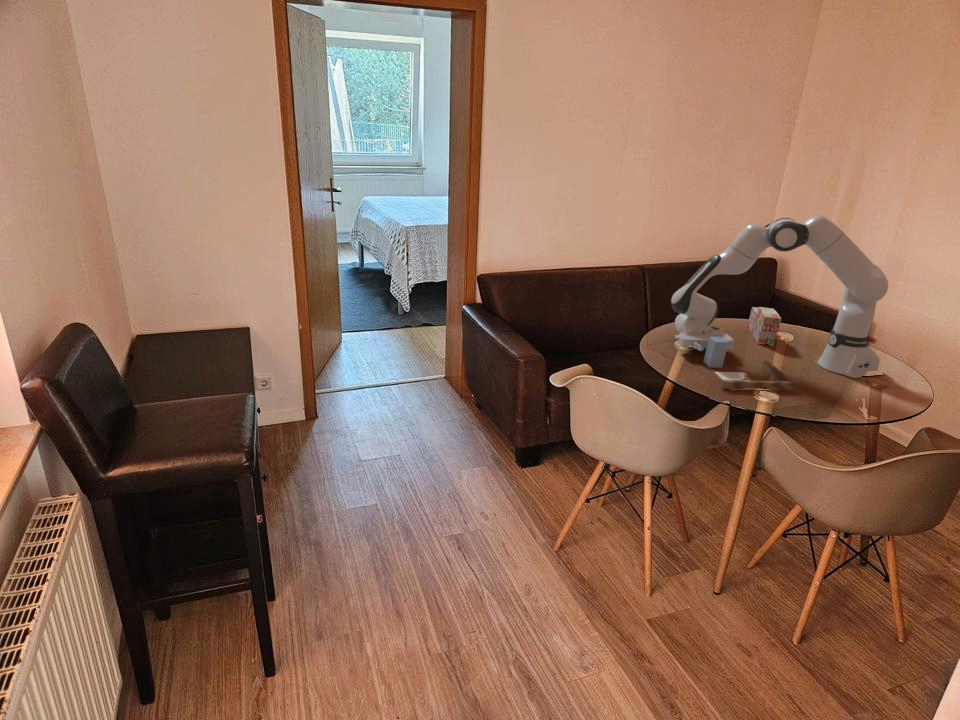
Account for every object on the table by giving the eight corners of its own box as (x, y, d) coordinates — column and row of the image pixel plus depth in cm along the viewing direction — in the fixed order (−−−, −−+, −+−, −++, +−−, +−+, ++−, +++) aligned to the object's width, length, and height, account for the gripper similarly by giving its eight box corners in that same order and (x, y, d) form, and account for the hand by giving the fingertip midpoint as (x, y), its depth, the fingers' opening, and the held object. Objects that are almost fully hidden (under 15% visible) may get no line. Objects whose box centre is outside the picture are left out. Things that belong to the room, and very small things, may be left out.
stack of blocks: (746, 326, 264) (753, 299, 259) (761, 328, 263) (769, 301, 258) (757, 344, 245) (765, 316, 240) (773, 346, 244) (781, 318, 239)
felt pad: (743, 373, 217) (743, 372, 217) (759, 386, 207) (759, 386, 207) (714, 372, 216) (714, 371, 216) (728, 386, 206) (729, 385, 206)
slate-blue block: (716, 361, 225) (722, 337, 221) (722, 367, 221) (728, 342, 217) (703, 361, 225) (709, 336, 221) (709, 367, 220) (715, 342, 216)
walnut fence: (765, 367, 223) (767, 360, 222) (793, 391, 206) (796, 383, 205) (699, 366, 220) (701, 358, 219) (722, 389, 203) (725, 381, 202)
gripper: (674, 327, 232) (689, 340, 219) (725, 328, 234) (742, 342, 222) (671, 342, 234) (685, 356, 222) (721, 343, 237) (738, 357, 224)
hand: (714, 349), depth 222 cm, fingers open, 8 cm apart
